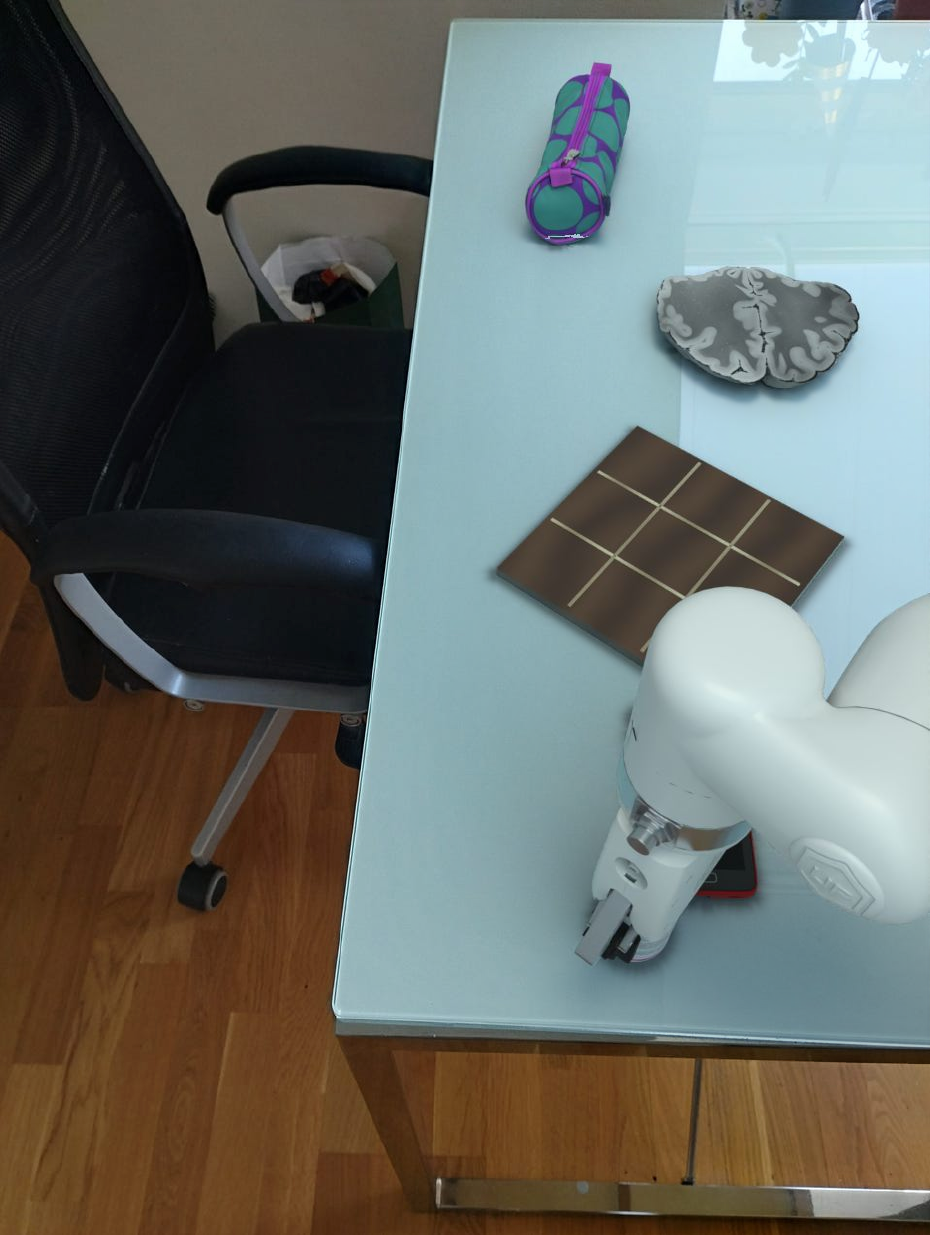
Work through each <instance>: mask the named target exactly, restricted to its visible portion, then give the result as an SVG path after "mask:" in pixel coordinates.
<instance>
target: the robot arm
mask: <svg viewBox="0 0 930 1235" xmlns="http://www.w3.org/2000/svg"><path fill="white" fill-rule="evenodd" d="M826 672H827V670H826V662H825V655H824V652H823V649H822V646H821V643H820V640H819V638H818V637H817V635H816V633H815V632H814V630H813V628H812V627H811V625H810V624H808V622H807V621H806V619H804V618H803V617H802V616H801V614H799V613H798V612H797V611H796V610H795V609H794V608H793V607H792V608H791V607H790V606H788V605H787V604H785V603H784V602H782V601H781V600H779V599H777V598H775V597H773V596H771V595H769V594H766V593H763V592H760V591H757V590H754V589H748V588H742V587H718V588H712V589H707V590H703V591H700V592H697V593H695V594H692V595H690V596H688V597H687V598H685V599H683V600H681V601H680V602H678V603H677V604H676V605H675V606H674V607H672V608H671V609H670V610H669V611H668V612H667V613H666V614H665V616H664V617H663V618H662V619H661V621H660V622H659V623H658V625H657V627H656V629H655V630H654V633H653V635H652V638H651V641H650V644H649V646H648V650H647V654H646V658H645V662H644V666H643V667H642V669H641V674H640V679H639V682H638V687H637V689H636V690H637V691H636V694H635V699H634V702H633V707H632V711H631V715H630V719H629V722H628V727H627V730H626V734H625V739H624V742H623V745H622V749H621V754H620V757H619V760H618V766H617V770H616V778H615V787H616V795H617V798H618V802H619V808H618V810H617V813H616V815H615V817H614V820H613V822H612V823H611V824H610V829H609V832H608V834H607V836H606V839H605V841H604V844H603V846H602V849H601V851H600V854H599V857H598V860H597V863H596V866H595V869H594V871H593V876H592V882H591V893H592V898H593V900H594V901H595V902H597V900H598V903H597V905H596V906H595V907H594V909H593V911H591V912H592V913H591V916H590V918H589V919H588V921H587V924H586V925H587V928H585V930H584V931H583V933H582V939H581V940H580V942H579V943H578V945H577V947H576V949H575V950H574V954H575V955H576V956H578V957H579V958H580V959H581V960H583V962H585V963H586V964H588V965H589V966H590V967H593V966H595V965H596V964H597V963H598V962H599V961H600V960H601V958H602V959H603V960H607V959H609V960H612V961H614V960H615V959H616V957H617V958H618V959H619V960H621V961H622V962H624V963H625V964H627V965H629V964H630V963H631V962H632V961H631V960H632V959H633V957H634V955H635V953H636V950H637V948H638V946H639V943H640V941H641V938H640V937H641V936H642V937H644V938H645V939H647V940H648V941H650V942H652V941H657V940H660V939H662V938H663V937H664V936H665V935H666V934H667V932H668V931H669V930H670V929H671V927H672V926H673V925H674V923H675V922H676V920H677V919H678V920H679V918H680V917H681V915H682V914H683V912H684V911H685V909H686V908H687V907H688V905H689V904H690V903H691V901H692V900H693V899H694V896H696V895H695V894H696V892H697V891H698V890H699V888H700V887H701V885H702V884H703V883H704V881H705V880H706V878H707V877H708V875H709V874H710V873H711V871H712V870H713V868H714V867H715V865H716V864H717V862H718V861H719V860H720V858H721V857H722V855H723V854H724V852H725V851H726V849H728V848H730V847H732V846H734V845H736V844H737V843H738V842H740V841H741V840H742V839H743V838H744V837H745V836H746V835H747V834H748V833H749V832H750V830H752V829H753V830H754V831H755V832H756V833H757V834H758V835H759V836H760V837H761V838H762V839H763V840H764V841H765V842H766V843H767V844H769V845H770V847H772V849H773V850H774V851H775V852H776V853H778V855H780V856H781V858H783V859H784V860H785V861H786V862H787V863H788V864H789V865H790V866H791V867H792V868H793V869H794V870H795V871H796V873H797V874H798V876H799V878H800V879H801V880H802V881H803V882H804V883H805V885H806V886H807V887H808V888H809V889H810V890H812V891H813V893H815V895H817V896H818V897H820V898H821V899H822V900H824V901H825V902H827V903H828V904H830V905H831V906H833V907H834V908H837V909H839V910H840V911H843V912H845V913H847V914H849V915H853V916H854V915H855V916H857V917H861V918H863V919H866V920H867V921H871V922H875V923H878V924H882V925H891V926H893V925H895V926H896V925H897V926H898V925H906V924H910V923H914V922H916V921H919V920H921V919H923V918H924V917H926V916H927V915H928V914H930V592H929V593H927V594H924V595H921V596H919V597H916V598H914V599H912V600H911V601H909V602H907V603H905V604H903V605H901V606H900V607H898V608H896V609H895V610H894V611H892V612H891V613H889V614H888V615H887V616H885V617H883V619H881V620H880V621H879V622H878V623H877V624H876V625H875V626H874V627H873V628H872V629H871V631H870V632H869V633H868V634H867V635H866V637H865V639H864V640H863V641H862V643H861V645H860V646H859V647H858V649H857V650H856V652H855V653H854V655H853V657H852V658H851V660H850V661H849V662H848V664H847V665H846V667H845V669H844V670H843V672H842V673H841V675H840V677H839V679H838V680H837V681H836V682H835V685H834V687H833V688H832V690H831V691H830V693H829V695H828V697H827V698H825V696H824V695H825V693H824V690H825V685H826V674H827V673H826ZM626 916H627V917H628V918H630V921H631V923H632V924H631V925H630V926H629V925H627V924H626V923H625V922H623V920H624V918H625V917H626ZM678 920H677V921H678ZM676 923H677V922H676Z"/></svg>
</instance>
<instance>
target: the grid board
mask: <svg viewBox="0 0 930 1235" xmlns="http://www.w3.org/2000/svg"><path fill="white" fill-rule="evenodd" d="M844 539H845V536H844V535H843V534H841V533H839V532H838V531H836V530H834V529H831V528H830V527H828V526H826V525H824V524H822V523H820V522H819V521H816V520H815V519H813V518H812V517H809V516H808V515H805V514H804V513H802V512H800V511H798V510H796V509H794V508H793V507H791V506H789V505H787V504H786V503H783V502H781V501H779V500H778V499H775V498H773V497H772V496H770V495H768V494H766V493H764V492H763V491H761V490H760V489H757V488H755V487H754V486H751V485H749V484H748V483H746V482H744V481H742V480H740V479H738V478H736V477H734V476H733V475H731V474H729V473H728V472H725V471H723V470H721V469H720V468H718V467H716V466H714V465H712V464H710V463H709V462H706V461H704V460H703V459H701V458H699V457H697V456H696V455H693V454H691V453H689V452H688V451H686V450H684V449H682V448H680V447H679V446H677V445H675V444H673V443H672V442H669V441H667V440H666V439H664V438H662V437H660V436H658V435H656V434H655V433H653V432H651V431H649V430H647V429H646V428H643V427H642V426H639V425H636V426H635V427H634V428H633V429H632V430H631V431H630V432H629V433H628V435H626V436H625V438H624V439H623V440H621V441H620V443H618V444H617V446H615V447H614V449H612V450H611V451H610V453H608V454H607V456H606V457H604V459H602V461H601V462H600V463H599V464H597V465H596V467H595V468H594V469H593V470H592V471H591V472H589V473H588V474H587V476H586V477H584V479H582V481H581V482H580V483H579V484H578V485H577V486H575V488H574V489H573V490H572V491H571V492H570V493H569V494H568V495H567V496H566V497H565V498H564V499H563V500H562V501H561V502H560V503H559V504H558V505H557V506H556V507H555V508H554V509H553V510H552V511H551V512H550V513H549V514H548V515H547V516H546V517H545V518H544V519H543V521H541V522H540V523H539V524H538V525H537V526H536V527H535V529H534V530H532V531H531V532H530V533H529V535H528V536H526V537H525V539H523V541H522V542H521V543H520V544H519V545H517V547H516V548H515V549H514V550H513V551H512V552H511V553H510V554H509V555H507V557H506V558H505V559H504V560H503V561H502V562H501V563H500V564H499V565H498V566H497V567H496V576H499V577H500V578H502V579H503V580H505V581H506V582H507V583H510V584H511V585H513V586H514V587H515V588H517V589H519V590H520V591H522V592H524V593H525V594H527V595H528V596H530V597H532V598H533V599H535V600H537V601H538V602H540V603H541V604H543V605H544V606H546V607H547V608H548V609H551V610H552V611H554V612H555V613H557V614H559V615H560V616H561V617H563V618H564V619H566V620H568V621H570V622H571V623H572V624H574V625H575V626H577V627H579V628H580V629H582V630H583V631H585V632H587V633H588V634H590V635H591V636H593V637H594V638H596V639H598V640H599V641H601V642H602V643H604V644H606V645H607V646H609V647H610V648H612V649H613V650H615V651H617V652H619V654H621V655H623V656H625V657H626V658H628V659H629V660H630V661H632V662H634V663H636V664H637V665H639V666H640V667H642V668H643V666H644V662H645V658H646V654H647V650H648V646H649V644H650V641H651V638H652V635H653V633H654V630H655V629H656V627H657V625H658V623H659V622H660V621H661V619H662V618H663V617H664V616H665V614H666V613H667V612H668V611H669V610H670V609H671V608H672V607H674V606H675V605H676V604H677V603H678V602H680V601H681V600H683V599H685V598H687V597H688V596H690V595H692V594H695V593H697V592H700V591H703V590H707V589H712V588H718V587H742V588H748V589H754V590H757V591H760V592H763V593H766V594H769V595H771V596H773V597H775V598H777V599H779V600H781V601H782V602H784V603H785V604H787V605H788V606H790V607H791V608H792V609H793V607H794V606H795V605H796V604H797V602H798V601H799V599H800V598H801V597H802V596H803V594H805V592H806V591H807V589H808V588H809V587H810V586H811V584H812V583H813V582H814V580H815V579H816V577H817V576H818V575H819V574H820V572H821V571H822V570H823V569H824V567H825V566H826V565H827V564H828V562H829V561H830V559H831V558H832V557H833V555H834V554H835V553H836V551H837V550H838V549H839V548H840V546H841V545H842V543H843V542H844Z"/></svg>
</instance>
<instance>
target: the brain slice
mask: <svg viewBox="0 0 930 1235" xmlns="http://www.w3.org/2000/svg"><path fill="white" fill-rule="evenodd" d="M656 303H657V305H656V306H657V307H656V311H657V313H656V314H657V316H656V317H657V321H658V328H659V329H660V330H661V332H663V333H664V335H665V337H666V339H667V340H668V342H669V343H670V344H671V345H672V346H673V347H674V348H675V349H676V350H677V351H678V353H679V354H680V355H681V357H683V359H685V360H688V361H690V362H692V363H694V364H696V365H697V366H698V367H699V368H701V369H703V370H704V371H705V372H707V373H708V374H710V375H712V376H714V377H717V378H720V379H724V380H726V381H727V382H730V383H734V384H738V385H747V386H748V385H749V386H754V385H755V384H757V383H759V382H761V381H762V382H763V383H764V384H765V386H768V387H771V388H772V387H773V388H776V389H790V388H795V387H799V386H803V385H804V384H808V383H809V382H811V381H813V380H815V379H816V378H817V376H819V375H822V374H824V373H827V372H828V371H830V370H831V369H832V368H833V367H834V366H835V365H836V364H837V362H838V359H839V358H840V357H841V356H842V355H843V353H845V351H846V349H847V348H848V346H849V343H850V341H851V340H853V337H854V336H855V335H856V334H857V333H858V332H859V328H860V326H859V321H860V318H861V315H860V312H859V310H858V307H857V305H856V304H855V303H853V297H852V295H851V294H850V292H848V291H847V290H846V289H845V288H843V287H842V286H840V285H837V284H835V283H831V282H828V281H827V282H825V281H824V282H823V281H819V280H817V281H816V280H812V281H811V280H810V281H808V280H800V279H794V278H791V277H790V276H787V275H784V274H782V273H778V272H775V271H772V270H769V269H766V268H764V267H763V268H762V267H759V266H751V267H750V268H747V267H746V266H730V265H729V266H724V267H721V268H719V269H715V270H711V271H709V272H705V273H702V274H697V275H690V274H689V275H677V276H676V275H675V276H669V277H666V278H664V279H663V280H662V282H661V284H660V286H659V288H658V291H657V295H656Z"/></svg>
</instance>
